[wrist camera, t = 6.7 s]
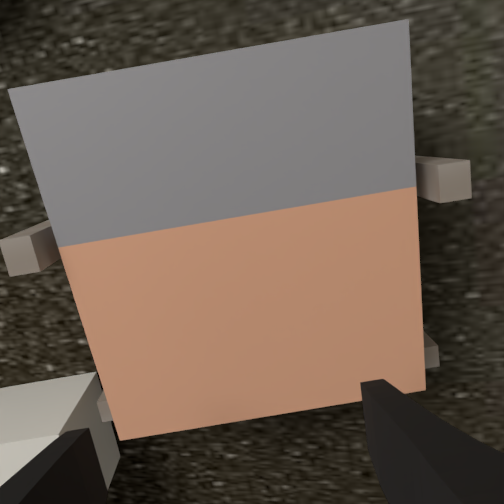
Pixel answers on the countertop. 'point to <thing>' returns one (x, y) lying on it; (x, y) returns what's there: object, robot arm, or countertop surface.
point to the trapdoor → (238, 225)
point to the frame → (428, 186)
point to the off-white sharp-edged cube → (52, 421)
